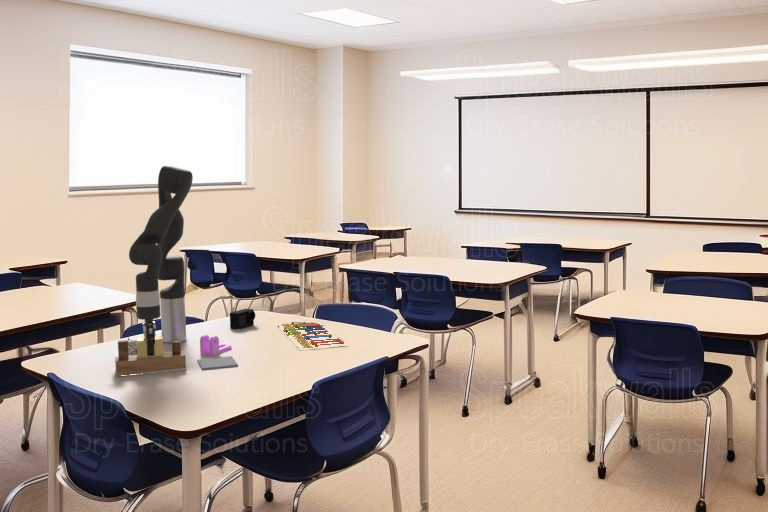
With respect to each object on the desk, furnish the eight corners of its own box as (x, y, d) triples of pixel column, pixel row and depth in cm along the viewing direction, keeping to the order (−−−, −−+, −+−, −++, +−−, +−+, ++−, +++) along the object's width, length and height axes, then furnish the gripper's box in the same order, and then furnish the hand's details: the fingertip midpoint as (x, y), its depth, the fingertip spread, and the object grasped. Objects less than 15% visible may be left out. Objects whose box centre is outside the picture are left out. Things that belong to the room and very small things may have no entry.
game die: (138, 370, 261) (155, 347, 261) (123, 368, 253) (141, 344, 254) (123, 355, 265) (140, 333, 265) (108, 352, 257) (125, 329, 257)
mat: (197, 361, 259) (197, 359, 259) (231, 357, 264) (231, 356, 264) (202, 370, 248) (202, 368, 248) (238, 366, 253) (237, 364, 252)
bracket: (213, 356, 267) (212, 337, 266) (200, 354, 269) (199, 336, 268) (234, 348, 278) (233, 329, 277) (222, 346, 281) (221, 328, 280)
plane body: (115, 371, 247) (113, 339, 246) (184, 364, 255) (182, 333, 254) (116, 377, 240) (114, 344, 239) (186, 369, 248) (185, 337, 247)
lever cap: (137, 355, 248) (136, 336, 247) (162, 353, 251) (161, 334, 250) (138, 358, 244) (137, 339, 243) (163, 356, 246) (162, 337, 246)
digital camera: (240, 330, 307) (239, 313, 306) (230, 328, 310) (229, 312, 309) (256, 325, 316) (255, 309, 315) (246, 324, 319) (245, 308, 318)
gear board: (276, 321, 315) (320, 318, 321) (276, 326, 316) (320, 323, 322) (299, 345, 273) (349, 341, 279) (299, 351, 273) (349, 347, 280)
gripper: (161, 306, 240) (164, 358, 242) (157, 299, 253) (159, 347, 255) (137, 308, 237) (140, 360, 239) (134, 300, 250) (137, 350, 252)
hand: (150, 353), depth 247 cm, fingers closed on lever cap, 4 cm apart
